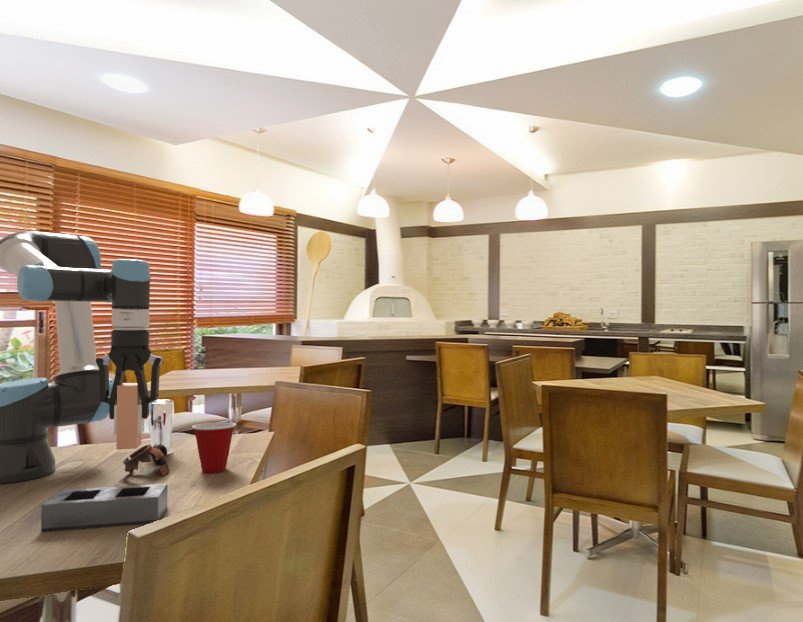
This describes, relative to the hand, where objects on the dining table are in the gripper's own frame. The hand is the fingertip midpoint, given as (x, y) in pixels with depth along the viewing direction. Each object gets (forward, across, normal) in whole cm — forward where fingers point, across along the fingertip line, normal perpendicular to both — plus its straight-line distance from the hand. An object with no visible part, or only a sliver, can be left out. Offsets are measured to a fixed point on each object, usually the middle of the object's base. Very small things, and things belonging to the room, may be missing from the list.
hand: (129, 432), depth 114 cm
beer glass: (+14, -1, +34) cm, 37 cm away
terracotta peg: (+3, 0, 0) cm, 3 cm away
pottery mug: (+14, +1, +15) cm, 21 cm away
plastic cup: (+14, +16, +15) cm, 26 cm away
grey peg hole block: (+14, 0, -14) cm, 20 cm away
